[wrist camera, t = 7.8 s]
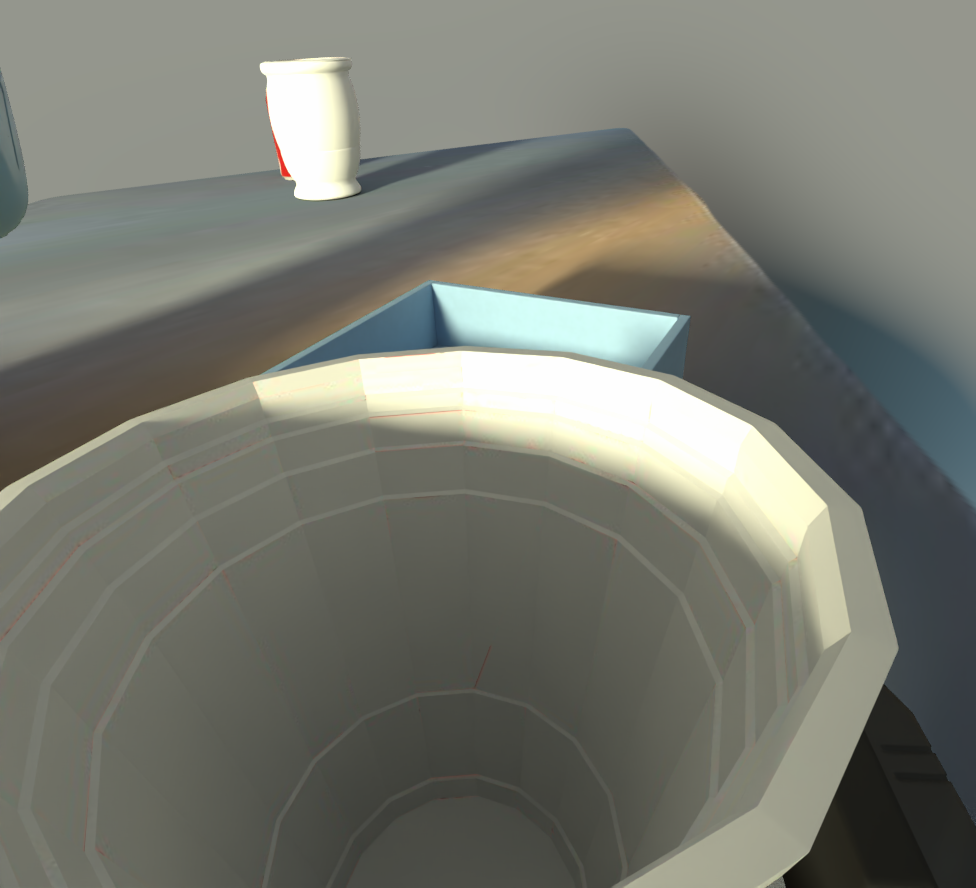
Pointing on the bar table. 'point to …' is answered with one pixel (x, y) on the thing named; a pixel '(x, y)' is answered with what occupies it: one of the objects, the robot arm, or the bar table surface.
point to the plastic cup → (432, 635)
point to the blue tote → (508, 328)
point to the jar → (316, 124)
